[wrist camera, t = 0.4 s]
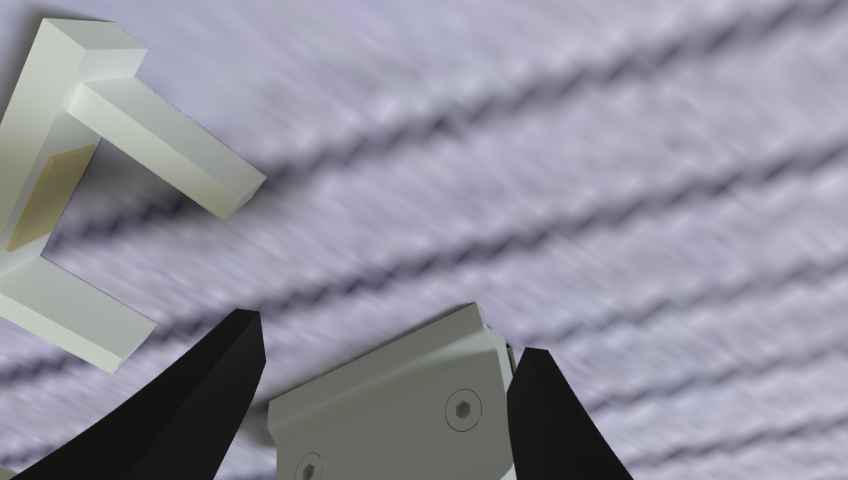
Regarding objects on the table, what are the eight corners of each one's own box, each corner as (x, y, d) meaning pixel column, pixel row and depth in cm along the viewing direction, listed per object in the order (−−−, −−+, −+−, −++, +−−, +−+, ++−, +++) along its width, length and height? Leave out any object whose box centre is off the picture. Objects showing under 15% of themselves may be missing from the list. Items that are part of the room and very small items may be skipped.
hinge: (481, 298, 23) (548, 496, 16) (511, 333, 26) (577, 510, 19) (264, 403, 27) (239, 597, 20) (312, 421, 30) (305, 595, 23)
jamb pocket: (136, 351, 25) (94, 395, 22) (-5, 274, 23) (-75, 311, 20) (283, 155, 19) (254, 176, 16) (115, 22, 17) (43, 17, 14)
